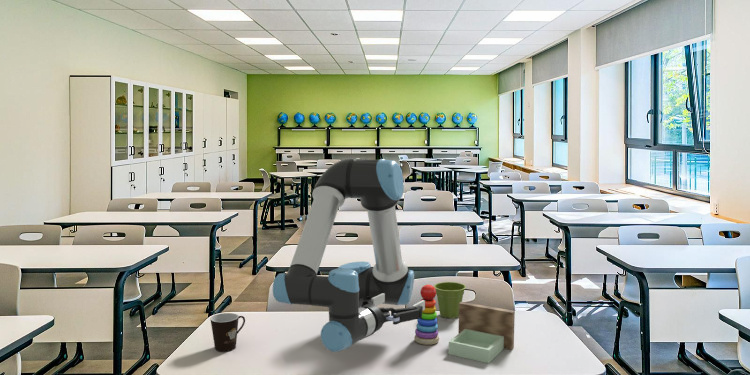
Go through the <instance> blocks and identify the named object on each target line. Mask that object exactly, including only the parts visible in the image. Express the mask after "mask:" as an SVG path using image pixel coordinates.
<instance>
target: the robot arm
mask: <svg viewBox="0 0 750 375" xmlns="http://www.w3.org/2000/svg"><path fill="white" fill-rule="evenodd" d="M404 188H405V185H404V176H403V171H402V168H401V166H400V165H399V162H398V163H397V161H396V160H392V159H385V158H380V159H368V158H367V159H356V158H355V159H354V158H346V159H342V160H338V161H337V162H335V163H334V164H332V165H331V166H329V167H327V169H326V170H325V171H324V172H323V173H322V174H321V175H320V177H319V178H318V180H317V181H316V183H315V185H314V188H313V190H312V194H311V197H312V198H313V201H312V204H311V205H310V206H311V207H310V209H309V211H308V215H307V217H306V220H305V222H304V226H303V229H302V232H301V235H300V238H299V241H298V242H297V246H296V248H295V252H294V254H293V257H292V259H291V262H290V265H289V268H288V270H287V272H283V273H282V272H281V273H278V274H277V276H275V277H274V279H273V283H272V295H273V297H274V300H275V301H276V302H278V303H282V304H288V305H303V306H314V307H323V308H328V321H327V322H326V323H325V324H324V325H323V326H322V328H321V330H320V339H321V340H320V341H321V342H322V344H323V346H324V347H325V348H326V349H327V350H328V351H331V352H334V353H337V352H341V351H342V350H345V349H349V348H350V347H351V346H353V345H355V343H357V342H359V341H361V340H363V339H365V338H367V337H368V336H370V335H372V334H374V333H375V332H377V331H379V330H380V329H382V327H383V325H384V323H388V322H392V325H399V324H401V323H405V322H410V321H413V320H414V321H415V320H417V319H420V318H422V311H423V310H425V300H422V301H421V300H420V301H418V302H416V303H414V304H413V305H411V307H402V308H401V307H400V308H394V307H378V306H380V305H383V304H384V305H391V306H393V305H394V306H407V305H408V304H409V303H410V302H411V298H412V295H413V290H414V283H415V272H414V270H412V269H409V268H408V264H407V263H406V262H405V260H403V258H402V250H401V244H400V243H401V242H400V235H399V226H398V219H397V218H398V217H397V211H396V206H397V205H398V204H399V202H400V200H401V198H403V196H404V190H405V189H404ZM346 199H359V200H360V204H361V207H362V208H363V209H364V210H366V211H367V216H368V217H367V218H368V223H369V229H370V231H369V232H370V236H371V243H372V248H373V253H374V260H375V264H374V266H373V267H371V266H372V265H371V263H370V262H368V261H354V262H353V261H352V262H347V263H344V264H342V265H340V266H338V267H337V268H335V269H331V270H330V271H329V272H328V276H326V275H325V276H323V275H318V273H319V272H318V271H319V270H320V269H319V268H320V266H321V262H322V260H323V257H324V254H325V250H326V247H327V244H328V241H329V238H330V235H331V233H332V230H333V226H334V223H335V220H336V218H337V213H338V211H339V209H340V208H341V207H342V206H343V205H344V203H345V200H346Z"/></svg>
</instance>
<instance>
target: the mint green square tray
mask: <svg viewBox="0 0 750 375" xmlns="http://www.w3.org/2000/svg"><path fill="white" fill-rule="evenodd" d="M504 349H505V348H504V336H499V335H494V334H489V333H484V332H479V331H474V330H469V329H464V330H463V331H462V332H460V333H459V334H456V335H455V336H454V337H453V338H451V339H450V340H448V355H451V356H455V357H459V358H462V359H463V358H464V359H467V360H473V361H477V362H482V363H486V364H490V363H491V362H492V361H493V360H494V359H495V358H496V357H497V356H498V355H499V354H501V352H502V351H503V350H504Z"/></svg>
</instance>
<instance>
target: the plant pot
mask: <svg viewBox="0 0 750 375" xmlns="http://www.w3.org/2000/svg"><path fill="white" fill-rule="evenodd" d="M433 287H434V288H435V289H436V297H437V304H438V309H439V316H440V317H441V318H444V319H445V318H448V319H457V318H459V303H460V302H463V297H464V294H465V289H467V286H466V285H465V284H464V283H461V282H454V281H442V282H437V283H435V284H434V285H433Z"/></svg>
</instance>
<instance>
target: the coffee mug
mask: <svg viewBox="0 0 750 375" xmlns="http://www.w3.org/2000/svg"><path fill="white" fill-rule="evenodd" d="M240 319H242V324H241V326H240V327H239V320H240ZM245 324H246V318H245V316H243V315H239V314H237V313H233V312H222V313H218V314H214V315H213V316H211V317H210V325H211V332H212V337H213V345H214V350H215V351H216V352H218V353H227V352H231V351H234V350H236V348H237V339H238V334H239V333H240V331H241V330H242V329H243V328H244V326H245Z"/></svg>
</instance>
